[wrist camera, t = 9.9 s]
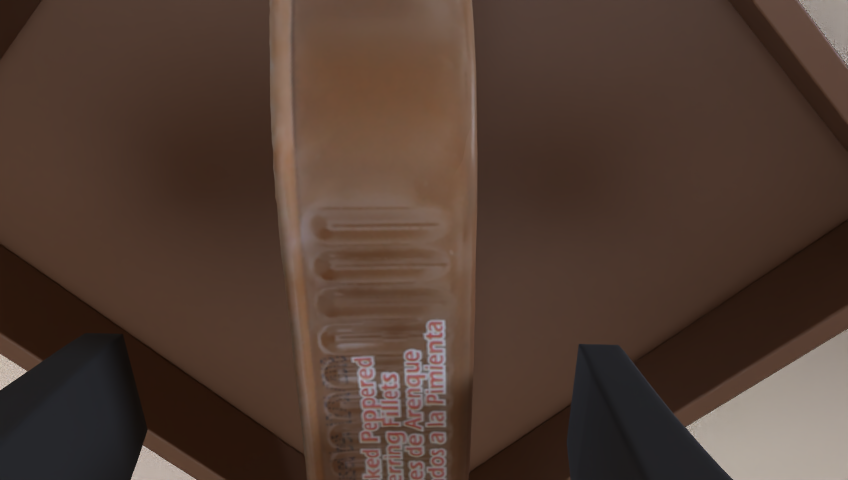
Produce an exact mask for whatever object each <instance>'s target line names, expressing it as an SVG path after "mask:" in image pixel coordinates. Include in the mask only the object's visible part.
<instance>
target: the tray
mask: <svg viewBox="0 0 848 480" xmlns="http://www.w3.org/2000/svg"><path fill="white" fill-rule="evenodd" d="M269 1H270V0H0V354H2V355H3V356H5V357H6V358H8V359H9V360H11V361H13V362H14V363H16V364H17V365H19V366H20V367H22V368H23V369H25V370H27V371H29V370H31V369H32V368H33V367H35V366H36V365H38V364H39V363H41V362H42V361H43V360H45V359H46V358H48V357H49V356H51V355H52V354H54V353H55V352H57V351H58V350H60V349H61V348H63V347H64V346H66V345H67V344H69V343H70V342H72V341H73V340H75V339H77V338H78V337H80V336H81V335H83V334H85V333H109V334H123V336H124V340H125V344H126V348H127V352H128V355H129V359H130V363H131V367H132V371H133V375H134V379H135V382H136V386H137V390H138V394H139V398H140V402H141V406H142V410H143V413H144V417H145V421H146V425H147V429H148V430H147V433H146V436H145V439H144V442H143V445H144V446H145V447H147V448H148V449H150V450H151V451H153V452H155V453H156V454H158V455H159V456H161V457H162V458H164V459H165V460H167V461H169V462H170V463H172V464H173V465H175V466H176V467H178V468H179V469H181V470H183V471H184V472H186V473H187V474H189V475H190V476H192V477H194V478H195V479H197V480H307V474H306V463H305V455H304V447H303V436H302V427H301V418H300V414H299V401H298V394H297V388H296V379H295V370H294V361H293V353H292V339H291V332H290V325H289V317H288V308H287V300H286V290H285V280H284V272H283V264H282V257H281V247H280V237H279V226H278V211H277V202H276V199H275V178H274V171H273V146H272V132H271V109H270V44H269V38H270V28H269V16H270V5H269ZM472 7H473V21H474V40H475V61H476V93H477V231H476V271H475V325H474V369H473V399H472V424H471V451H470V469H469V480H571V478H570V469H569V460H568V450H567V434H568V426H569V418H570V410H571V402H572V394H573V386H574V378H575V370H576V362H577V354H578V346H579V344H603V345H619V346H620V347H621V348H622V349H623V350H624V351H625V352H626V354H627V355H628V356H629V358H630V359H631V360H632V362H633V363H634V364H635V366H636V367H637V368H638V370H639V371H640V372H641V373H642V375H643V376H644V377H645V379H646V380H647V381H648V383H649V384H650V385H651V386H652V388H653V389H654V390H655V391H656V393H657V394H658V395H659V396H660V398H661V399H662V400H663V401H664V403H665V404H666V405H667V406H668V408H669V409H670V410H671V411H672V412H673V414H674V415H675V416H676V417H677V418H678V420H679V421H680V422H681V423H682V424H683V425H684V426H685V427H686V426H688V425H690V424H691V423H693V422H694V421H696V420H698V419H699V418H701V417H703V416H704V415H706V414H708V413H709V412H711V411H713V410H714V409H716V408H718V407H719V406H721V405H722V404H724V403H726V402H727V401H729V400H731V399H732V398H734V397H736V396H737V395H739V394H741V393H742V392H744V391H746V390H747V389H749V388H751V387H752V386H754V385H755V384H757V383H759V382H760V381H762V380H764V379H765V378H767V377H769V376H770V375H772V374H774V373H775V372H777V371H779V370H780V369H782V368H783V367H785V366H787V365H788V364H790V363H792V362H793V361H795V360H797V359H798V358H800V357H802V356H803V355H805V354H807V353H808V352H810V351H811V350H813V349H815V348H816V347H818V346H820V345H821V344H823V343H825V342H826V341H828V340H830V339H831V338H833V337H835V336H836V335H838V334H839V333H841V332H843V331H844V330H846V329H848V66H847V65H846V64H845V62H844V61H843V60H842V58H841V57H840V56H839V54H838V53H837V52H836V50H835V49H834V48H833V46H832V45H831V43H830V42H829V41H828V39H827V38H826V37H825V35H824V34H823V33H822V31H821V30H820V29H819V27H818V26H817V25H816V23H815V22H814V21H813V19H812V18H811V16H810V15H809V14H808V12H807V11H806V10H805V8H804V7H803V6H802V4H801V3H800V2H799V0H472Z"/></svg>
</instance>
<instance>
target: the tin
mask: <svg viewBox="0 0 848 480" xmlns="http://www.w3.org/2000/svg"><path fill="white" fill-rule="evenodd" d="M269 5H270V16H269V28H270V38H269V44H270V109H271V132H272V146H273V171H274V178H275V199H276V202H277V211H278V226H279V237H280V247H281V257H282V264H283V272H284V280H285V290H286V300H287V308H288V317H289V325H290V332H291V339H292V353H293V361H294V370H295V379H296V388H297V394H298V401H299V414H300V418H301V427H302V436H303V447H304V455H305V463H306V474H307V480H469V469H470V451H471V424H472V399H473V369H474V325H475V271H476V231H477V93H476V61H475V40H474V21H473V7H472V0H270V1H269Z"/></svg>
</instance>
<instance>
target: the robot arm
mask: <svg viewBox="0 0 848 480" xmlns="http://www.w3.org/2000/svg"><path fill="white" fill-rule="evenodd" d="M147 430H148V429H147V425H146V421H145V417H144V413H143V410H142V406H141V402H140V398H139V394H138V390H137V386H136V382H135V379H134V375H133V371H132V367H131V363H130V359H129V355H128V352H127V348H126V344H125V340H124V336H123V334H109V333H85V334H83V335H81V336H80V337H78V338H77V339H75V340H73V341H72V342H70V343H69V344H67V345H66V346H64V347H63V348H61V349H60V350H58V351H57V352H55V353H54V354H52V355H51V356H49V357H48V358H46V359H45V360H43V361H42V362H41V363H39V364H38V365H36V366H35V367H33V368H32V369H31V370H29V371H28V372H26V373H25V374H23V375H22V376H21V377H19V378H18V379H16V380H15V381H13V382H12V383H10V384H9V385H8V386H6V387H5V388H3V389H2V390H0V480H131V477H132V474H133V471H134V469H135V466H136V463H137V461H138V458H139V455H140V451H141V448H142V445H143V442H144V439H145V436H146V433H147ZM567 450H568V460H569V469H570V478H571V480H733V479H732V478H731V477H730V476H729V475H728V474H727V473H726V472H725V471H724V470H723V469H722V468H721V467H720V466H719V465H718V464H717V463H716V461H715V460H714V459H713V458H712V457H711V456H710V455H709V454H708V453H707V452H706V451H705V449H704V448H703V447H702V446H701V445H700V444H699V443H698V441H697V440H696V439H695V438H694V437H693V436H692V435H691V433H690V432H689V431H688V430H687V429H686V428H685V426H684V425H683V424H682V423H681V422H680V421H679V420H678V418H677V417H676V416H675V415H674V414H673V412H672V411H671V410H670V409H669V408H668V406H667V405H666V404H665V403H664V401H663V400H662V399H661V398H660V396H659V395H658V394H657V393H656V391H655V390H654V389H653V388H652V386H651V385H650V384H649V383H648V381H647V380H646V379H645V377H644V376H643V375H642V373H641V372H640V371H639V370H638V368H637V367H636V366H635V364H634V363H633V362H632V360H631V359H630V358H629V356H628V355H627V354H626V352H625V351H624V350H623V349H622V348H621V347H620V346H619V345H603V344H579V346H578V354H577V362H576V370H575V378H574V386H573V394H572V402H571V410H570V418H569V426H568V434H567Z"/></svg>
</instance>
